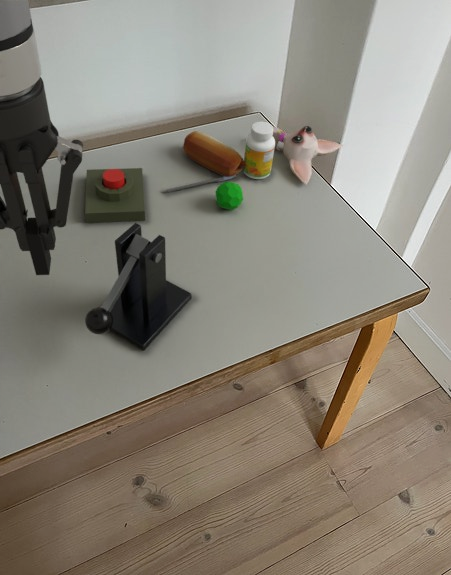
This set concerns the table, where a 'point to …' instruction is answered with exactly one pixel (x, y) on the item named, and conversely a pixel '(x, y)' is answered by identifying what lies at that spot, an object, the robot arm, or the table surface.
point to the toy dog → (303, 150)
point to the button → (113, 179)
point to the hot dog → (213, 154)
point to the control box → (114, 197)
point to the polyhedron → (229, 195)
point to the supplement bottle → (259, 151)
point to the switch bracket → (145, 293)
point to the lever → (115, 290)
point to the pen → (201, 183)
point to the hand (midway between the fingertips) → (43, 266)
